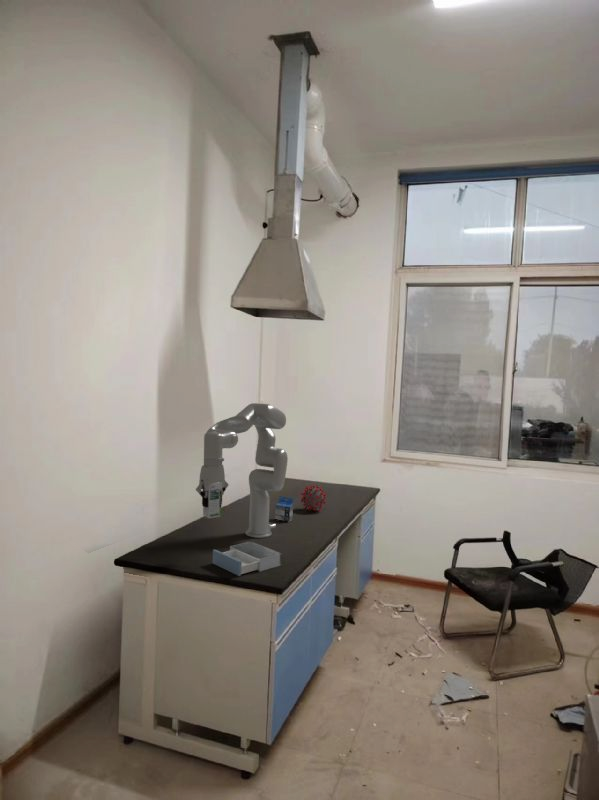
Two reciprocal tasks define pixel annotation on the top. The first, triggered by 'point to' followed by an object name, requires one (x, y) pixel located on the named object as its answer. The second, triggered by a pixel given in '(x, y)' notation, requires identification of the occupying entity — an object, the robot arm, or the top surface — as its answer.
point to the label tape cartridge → (284, 509)
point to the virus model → (313, 498)
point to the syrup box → (213, 501)
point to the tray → (235, 561)
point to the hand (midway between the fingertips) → (212, 504)
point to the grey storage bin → (260, 554)
